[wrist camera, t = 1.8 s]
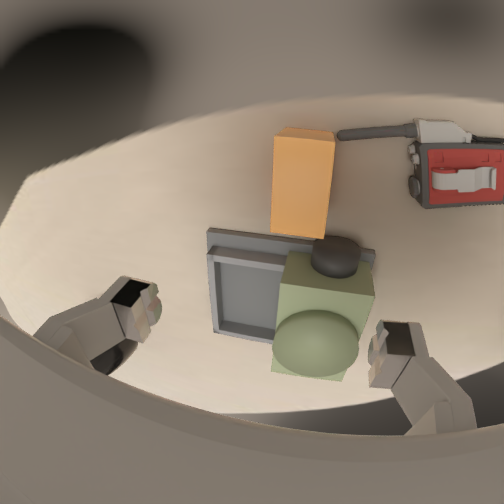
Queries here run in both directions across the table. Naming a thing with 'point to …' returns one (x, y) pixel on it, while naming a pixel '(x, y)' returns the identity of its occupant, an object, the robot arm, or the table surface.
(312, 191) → the orange cardboard box
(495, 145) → the walkie-talkie
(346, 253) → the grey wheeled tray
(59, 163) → the table surface
